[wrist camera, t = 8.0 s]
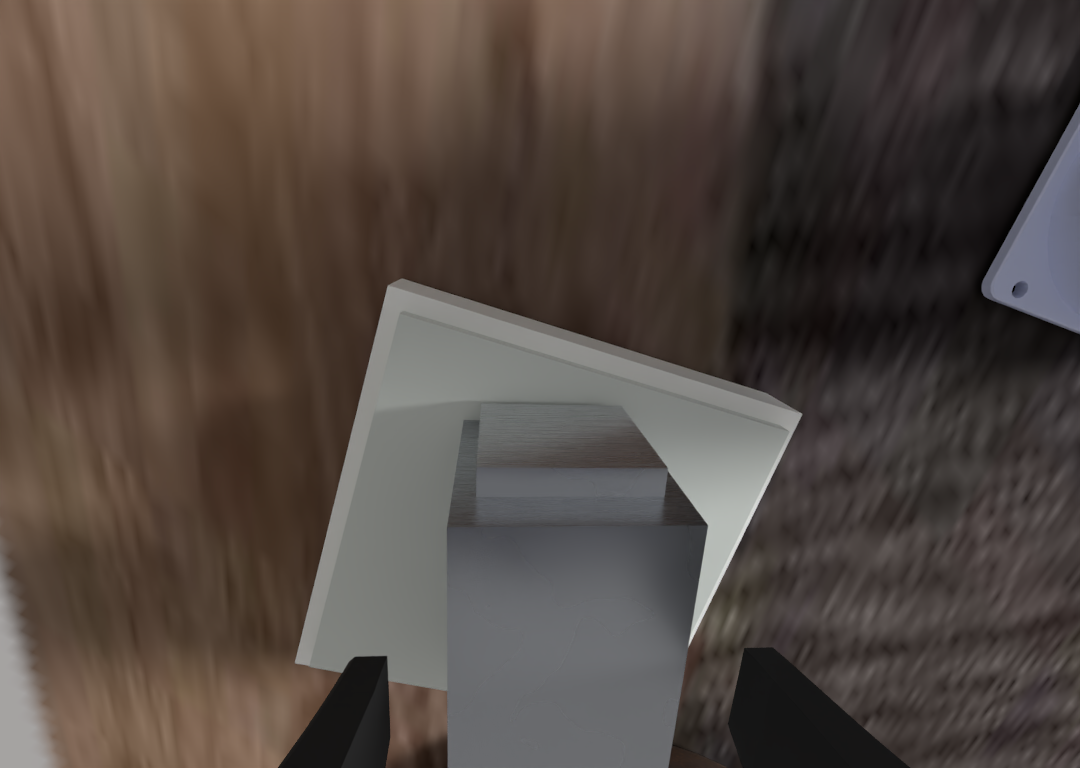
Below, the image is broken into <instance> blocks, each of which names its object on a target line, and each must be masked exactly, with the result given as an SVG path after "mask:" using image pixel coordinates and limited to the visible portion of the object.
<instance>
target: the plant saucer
mask: <svg viewBox="0 0 1080 768" xmlns="http://www.w3.org/2000/svg"><path fill="white" fill-rule="evenodd" d="M668 768H727V767H725V766H723V765H721V764H719V763H717V762H715V761H713V760H710V759H708V758H706V757H703V756H701V755H699V754H696V753H694V752H691V751H688V750H685V749H682V748H679V747H676V746H672V748H671V754H670V761H669V767H668Z"/></svg>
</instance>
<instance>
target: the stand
mask: <svg viewBox="0 0 1080 768" xmlns="http://www.w3.org/2000/svg"><path fill="white" fill-rule="evenodd" d="M481 404H538V405H595V406H622V407H623V409H624V410H625V411H626V413H627V414H628V415H629V417H630V418H631V419H632V421H633V422H634V423H635V425H636V426H637V427H638V429H639V430H640V431H641V433H642V434H643V435H644V437H645V438H646V439H647V441H648V442H649V443H650V445H651V446H652V447H653V449H654V450H655V451H656V453H657V454H658V455H659V457H660V458H661V459H662V461H663V462H664V463H665V465H666V466H667V467H668V472H669V473H670V474H671V476H672V477H673V479H674V480H675V481H676V483H677V484H678V485H679V487H680V488H681V489H682V491H683V492H684V493H685V495H686V496H687V497H688V499H689V500H690V502H691V503H692V504H693V506H694V507H695V508H696V510H697V511H698V512H699V514H700V515H701V516H702V518H703V519H704V521H705V522H706V523H707V525H708V530H707V536H706V542H705V548H704V554H703V560H702V566H701V572H700V578H699V585H698V591H697V597H696V603H695V609H694V615H693V621H692V627H691V633H690V639H689V644H690V642H691V640H692V638H693V636H694V634H695V632H696V630H697V628H698V626H699V624H700V622H701V620H702V618H703V616H704V614H705V612H706V610H707V608H708V606H709V604H710V602H711V600H712V598H713V595H714V593H715V591H716V589H717V587H718V585H719V583H720V581H721V579H722V577H723V575H724V573H725V571H726V569H727V567H728V565H729V563H730V561H731V559H732V557H733V555H734V553H735V551H736V549H737V546H738V544H739V542H740V540H741V538H742V536H743V534H744V532H745V530H746V528H747V526H748V524H749V522H750V520H751V518H752V516H753V514H754V512H755V510H756V508H757V506H758V504H759V502H760V500H761V497H762V495H763V493H764V491H765V489H766V487H767V485H768V483H769V481H770V479H771V477H772V475H773V473H774V471H775V469H776V467H777V465H778V463H779V461H780V459H781V457H782V455H783V453H784V451H785V448H786V446H787V444H788V442H789V440H790V438H791V436H792V434H793V432H794V430H795V428H796V426H797V424H798V422H799V420H800V418H801V416H802V414H801V413H800V412H798V411H796V410H794V409H793V408H791V407H789V406H788V405H786V404H784V403H782V402H781V401H779V400H777V399H776V398H774V397H772V396H770V395H769V394H767V393H764V392H761V391H758V390H755V389H752V388H749V387H745V386H742V385H739V384H736V383H733V382H730V381H726V380H723V379H720V378H717V377H714V376H710V375H707V374H704V373H701V372H698V371H695V370H691V369H688V368H685V367H682V366H679V365H676V364H672V363H669V362H666V361H663V360H660V359H656V358H653V357H650V356H647V355H644V354H641V353H637V352H634V351H631V350H628V349H625V348H622V347H618V346H615V345H612V344H609V343H606V342H603V341H599V340H596V339H593V338H590V337H587V336H583V335H580V334H577V333H574V332H571V331H568V330H564V329H561V328H558V327H555V326H552V325H549V324H545V323H542V322H539V321H536V320H533V319H529V318H526V317H523V316H520V315H517V314H514V313H510V312H507V311H504V310H501V309H498V308H495V307H491V306H488V305H485V304H482V303H479V302H476V301H472V300H469V299H466V298H463V297H460V296H456V295H453V294H450V293H447V292H444V291H441V290H437V289H434V288H431V287H428V286H425V285H422V284H418V283H415V282H412V281H409V280H406V279H400V280H397V281H395V282H393V283H391V284H389V285H388V287H387V291H386V295H385V299H384V303H383V307H382V311H381V315H380V319H379V323H378V327H377V331H376V336H375V340H374V344H373V348H372V352H371V356H370V360H369V364H368V368H367V372H366V376H365V380H364V384H363V388H362V392H361V396H360V400H359V404H358V409H357V413H356V417H355V421H354V425H353V429H352V433H351V437H350V441H349V445H348V449H347V453H346V457H345V461H344V465H343V469H342V473H341V478H340V482H339V486H338V490H337V494H336V498H335V502H334V506H333V510H332V514H331V518H330V522H329V526H328V530H327V534H326V538H325V542H324V546H323V551H322V555H321V559H320V563H319V567H318V571H317V575H316V579H315V583H314V587H313V591H312V595H311V599H310V603H309V607H308V611H307V615H306V619H305V624H304V628H303V632H302V636H301V640H300V644H299V648H298V652H297V656H296V660H295V663H296V664H302V665H308V666H309V667H312V668H318V669H324V670H330V671H335V672H341V673H343V671H344V669H345V667H346V666H347V664H348V662H349V661H350V660H351V659H353V658H354V657H358V656H387V661H388V681H393V682H398V683H404V684H410V685H416V686H421V687H427V688H433V689H438V690H444V691H447V523H448V517H449V510H450V504H451V497H452V491H453V485H454V478H455V472H456V466H457V459H458V453H459V446H460V440H461V434H462V427H463V421H464V420H480V411H481ZM688 647H689V645H688Z"/></svg>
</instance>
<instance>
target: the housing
mask: <svg viewBox="0 0 1080 768" xmlns="http://www.w3.org/2000/svg"><path fill="white" fill-rule="evenodd" d="M707 530H708V525H707V523H706V522H705V521H704V519H703V518H702V516H701V515H700V514H699V512H698V511H697V510H696V508H695V507H694V506H693V504H692V503H691V502H690V500H689V499H688V497H687V496H686V495H685V493H684V492H683V491H682V489H681V488H680V487H679V485H678V484H677V483H676V481H675V480H674V479H673V477H672V476H671V474H670V473H669V472H668V467H667V466H666V465H665V463H664V462H663V461H662V459H661V458H660V457H659V455H658V454H657V453H656V451H655V450H654V449H653V447H652V446H651V445H650V443H649V442H648V441H647V439H646V438H645V437H644V435H643V434H642V433H641V431H640V430H639V429H638V427H637V426H636V425H635V423H634V422H633V421H632V419H631V418H630V417H629V415H628V414H627V413H626V411H625V410H624V409H623V407H622V406H595V405H538V404H481V411H480V420H464V421H463V427H462V434H461V440H460V446H459V453H458V459H457V466H456V472H455V478H454V485H453V491H452V497H451V504H450V510H449V517H448V523H447V702H448V768H668V767H669V761H670V754H671V748H672V742H673V736H674V730H675V724H676V718H677V712H678V706H679V700H680V694H681V688H682V682H683V676H684V669H685V663H686V657H687V651H688V645H689V639H690V633H691V627H692V621H693V615H694V609H695V603H696V597H697V591H698V585H699V578H700V572H701V566H702V560H703V554H704V548H705V542H706V536H707Z"/></svg>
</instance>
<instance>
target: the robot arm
mask: <svg viewBox="0 0 1080 768" xmlns="http://www.w3.org/2000/svg"><path fill="white" fill-rule="evenodd" d="M1014 286H1016V287H1015V290H1014V292H1013V293H1012V289H1013V287H1014ZM982 293H983V295H984V296H985V297H986V298H988V299H990V300H993V301H995V302H998V303H1000V304H1003V305H1005V306H1008V307H1011V308H1013V309H1016V310H1018V311H1021V312H1024V313H1026V314H1029V315H1031V316H1034V317H1036V318H1039V319H1042V320H1044V321H1047V322H1049V323H1052V324H1055V325H1057V326H1060V327H1062V328H1065V329H1068V330H1070V331H1073V332H1075V333H1078V334H1080V104H1079V106H1078V108H1077V110H1076V111H1075V113H1074V115H1073V117H1072V119H1071V121H1070V122H1069V124H1068V126H1067V128H1066V130H1065V131H1064V133H1063V135H1062V137H1061V139H1060V141H1059V142H1058V144H1057V146H1056V148H1055V150H1054V152H1053V153H1052V155H1051V157H1050V159H1049V161H1048V162H1047V164H1046V166H1045V168H1044V170H1043V172H1042V173H1041V175H1040V177H1039V179H1038V181H1037V183H1036V184H1035V186H1034V188H1033V190H1032V192H1031V193H1030V195H1029V197H1028V199H1027V201H1026V203H1025V204H1024V206H1023V208H1022V210H1021V212H1020V214H1019V215H1018V217H1017V219H1016V221H1015V223H1014V224H1013V226H1012V228H1011V230H1010V232H1009V234H1008V235H1007V237H1006V239H1005V241H1004V243H1003V245H1002V246H1001V248H1000V250H999V252H998V254H997V256H996V257H995V259H994V261H993V263H992V265H991V266H990V268H989V270H988V272H987V274H986V276H985V277H984V279H983V282H982ZM728 725H729V728H730V731H731V734H732V737H733V740H734V743H735V746H736V749H737V752H738V755H739V758H740V761H741V764H742V766H743V768H910V767H909V766H907V765H906V764H905V763H904V762H903V761H901V760H900V759H899V758H898V757H897V756H895V755H894V754H893V753H892V752H891V751H889V750H888V749H887V748H886V747H885V746H884V745H882V744H881V743H880V742H879V741H878V740H877V739H875V738H874V737H873V736H872V735H871V734H870V733H869V732H867V731H866V730H865V729H864V728H863V727H862V726H861V725H859V724H858V723H857V722H856V721H855V720H854V719H853V718H851V717H850V716H849V715H848V714H847V713H846V712H845V711H844V710H842V709H841V708H840V707H839V706H838V705H837V704H836V703H835V702H834V701H832V700H831V699H830V698H829V697H828V696H827V695H826V694H825V693H823V692H822V691H821V690H820V689H819V688H818V687H817V686H816V685H815V684H813V683H812V682H811V681H810V680H809V679H808V678H807V677H806V676H805V675H803V674H802V673H801V672H800V671H799V670H798V669H797V668H796V667H794V666H793V665H792V664H791V663H790V662H789V661H788V660H787V659H785V658H784V657H783V656H782V655H781V654H780V653H778V652H777V651H776V650H775V649H774V648H744V653H743V657H742V662H741V667H740V671H739V676H738V681H737V685H736V690H735V694H734V699H733V704H732V708H731V713H730V718H729V722H728ZM389 741H390V716H389V688H388V661H387V656H358V657H354V658H353V659H351V660H350V661H349V662H348V664H347V666H346V667H345V669H344V671H343V673H342V674H341V676H340V677H339V679H338V681H337V682H336V684H335V685H334V687H333V689H332V690H331V692H330V693H329V695H328V696H327V698H326V699H325V701H324V703H323V704H322V706H321V707H320V709H319V710H318V711H317V713H316V714H315V716H314V717H313V719H312V720H311V722H310V723H309V725H308V726H307V728H306V729H305V731H304V732H303V733H302V735H301V736H300V738H299V739H298V740H297V742H296V743H295V745H294V746H293V747H292V749H291V750H290V752H289V753H288V754H287V756H286V757H285V759H284V760H283V761H282V763H281V764H280V766H279V767H278V768H385V766H386V760H387V754H388V748H389Z"/></svg>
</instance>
